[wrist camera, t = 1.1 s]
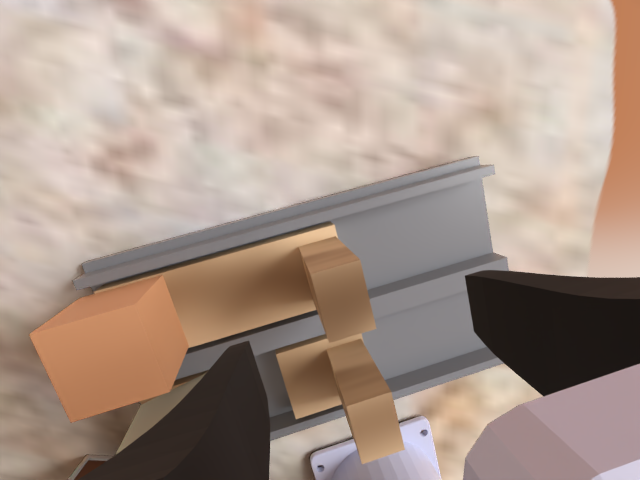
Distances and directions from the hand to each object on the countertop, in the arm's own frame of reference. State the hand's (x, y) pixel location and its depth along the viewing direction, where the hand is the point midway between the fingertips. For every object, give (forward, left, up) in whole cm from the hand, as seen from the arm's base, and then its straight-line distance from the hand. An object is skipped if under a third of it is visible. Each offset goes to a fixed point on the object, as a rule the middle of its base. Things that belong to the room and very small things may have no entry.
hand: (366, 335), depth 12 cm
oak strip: (0, +5, -10) cm, 11 cm away
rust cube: (0, +10, -8) cm, 13 cm away
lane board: (-3, +1, -10) cm, 10 cm away
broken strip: (-6, +5, -10) cm, 13 cm away
